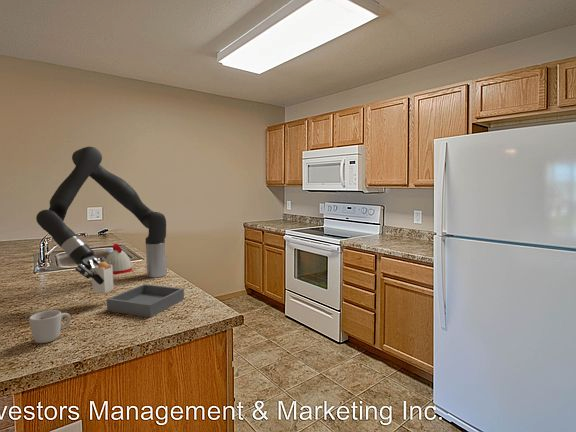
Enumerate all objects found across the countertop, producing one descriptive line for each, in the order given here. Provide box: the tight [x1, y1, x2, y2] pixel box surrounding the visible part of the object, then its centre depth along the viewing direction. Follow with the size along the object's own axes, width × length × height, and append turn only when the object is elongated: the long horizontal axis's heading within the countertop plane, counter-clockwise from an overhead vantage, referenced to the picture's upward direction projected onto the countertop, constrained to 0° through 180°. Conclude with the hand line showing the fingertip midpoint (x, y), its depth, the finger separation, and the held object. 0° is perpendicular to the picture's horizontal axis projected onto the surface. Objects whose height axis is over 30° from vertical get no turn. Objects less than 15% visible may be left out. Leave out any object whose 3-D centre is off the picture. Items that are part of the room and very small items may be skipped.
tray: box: [106, 283, 185, 318], centre depth 134 cm, size 20×20×4 cm
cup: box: [28, 309, 72, 344], centre depth 106 cm, size 11×8×8 cm
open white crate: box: [91, 265, 115, 294], centre depth 134 cm, size 5×5×10 cm
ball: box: [98, 262, 108, 270], centre depth 133 cm, size 3×3×3 cm
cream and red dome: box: [105, 243, 133, 275], centre depth 185 cm, size 14×14×15 cm
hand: (107, 280), depth 134 cm, fingers closed on open white crate, 5 cm apart
